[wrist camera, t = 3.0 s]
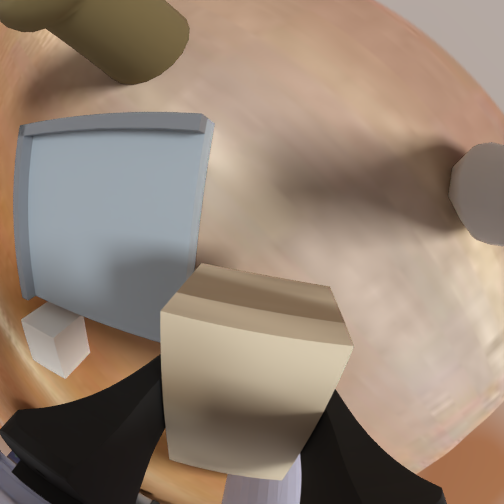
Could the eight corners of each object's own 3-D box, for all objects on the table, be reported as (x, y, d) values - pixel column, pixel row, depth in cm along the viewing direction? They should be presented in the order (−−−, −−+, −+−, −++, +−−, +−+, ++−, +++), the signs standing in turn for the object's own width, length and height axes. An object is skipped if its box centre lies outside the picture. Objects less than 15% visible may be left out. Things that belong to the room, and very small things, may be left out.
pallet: (283, 419, 12) (281, 480, 9) (191, 402, 13) (169, 459, 9) (329, 286, 10) (354, 346, 6) (201, 262, 10) (160, 310, 7)
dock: (189, 335, 17) (177, 358, 14) (41, 286, 18) (22, 297, 15) (214, 123, 13) (201, 113, 11) (42, 127, 14) (19, 125, 12)
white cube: (90, 352, 19) (65, 378, 15) (58, 337, 19) (33, 359, 15) (83, 313, 18) (53, 338, 14) (51, 299, 18) (21, 319, 14)
